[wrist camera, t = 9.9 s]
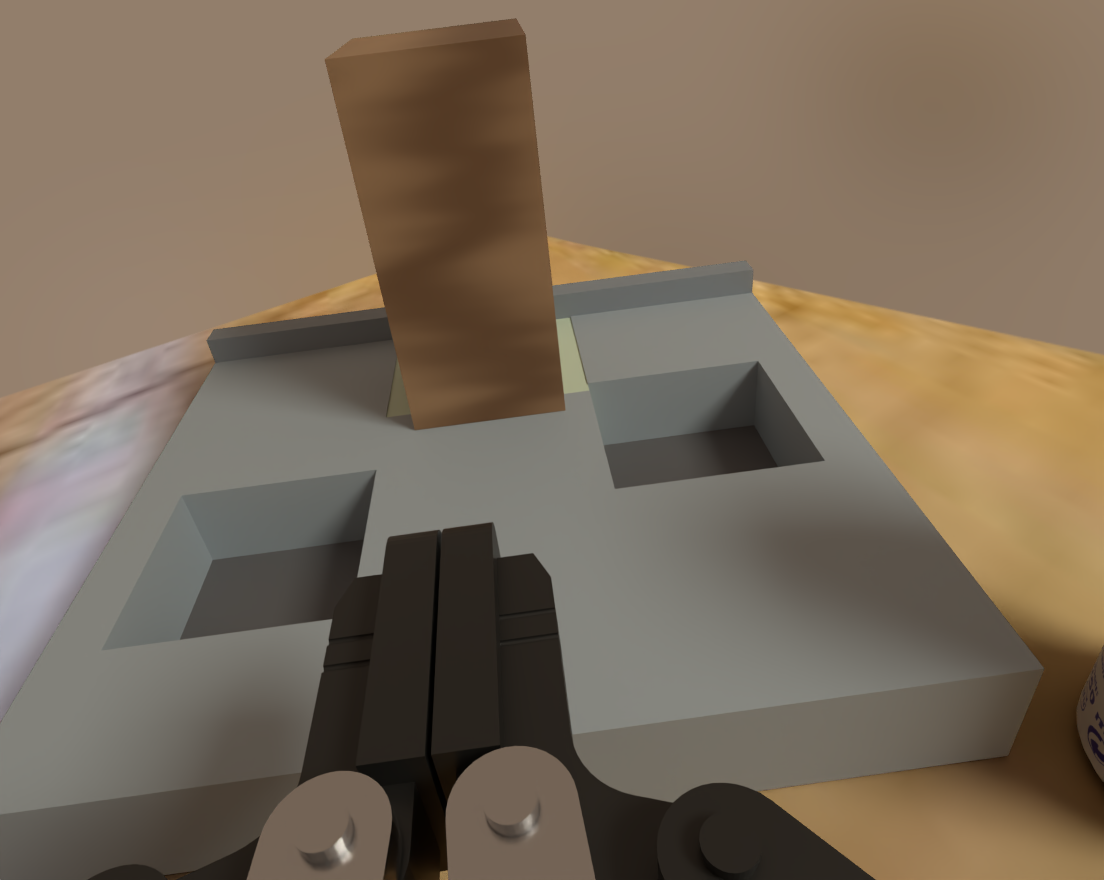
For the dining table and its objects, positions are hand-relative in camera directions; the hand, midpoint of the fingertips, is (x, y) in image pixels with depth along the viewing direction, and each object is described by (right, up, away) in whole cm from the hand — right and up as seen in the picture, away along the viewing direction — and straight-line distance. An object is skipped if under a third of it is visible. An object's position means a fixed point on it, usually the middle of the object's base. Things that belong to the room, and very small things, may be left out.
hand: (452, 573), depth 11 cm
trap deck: (0, -1, +14) cm, 14 cm away
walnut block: (-1, +4, +16) cm, 16 cm away
